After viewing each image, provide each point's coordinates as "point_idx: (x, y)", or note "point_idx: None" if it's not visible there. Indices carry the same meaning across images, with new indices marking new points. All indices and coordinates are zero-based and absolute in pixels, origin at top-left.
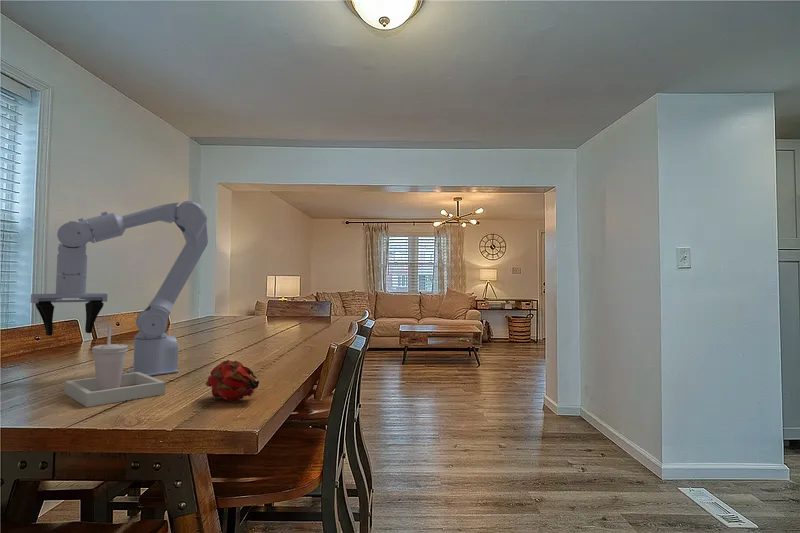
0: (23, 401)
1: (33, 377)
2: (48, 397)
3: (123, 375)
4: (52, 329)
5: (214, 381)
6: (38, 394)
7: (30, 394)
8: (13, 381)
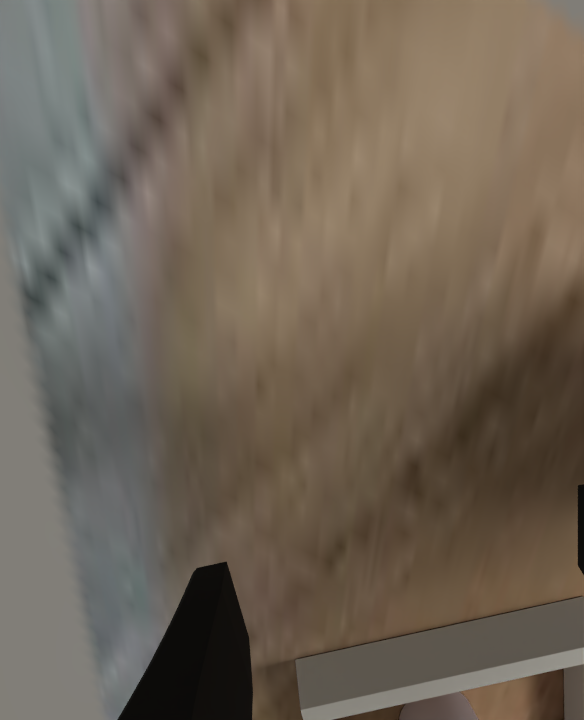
0: None
1: (151, 203)
2: None
3: (538, 669)
4: (250, 711)
5: None
6: None
7: None
8: (53, 285)
